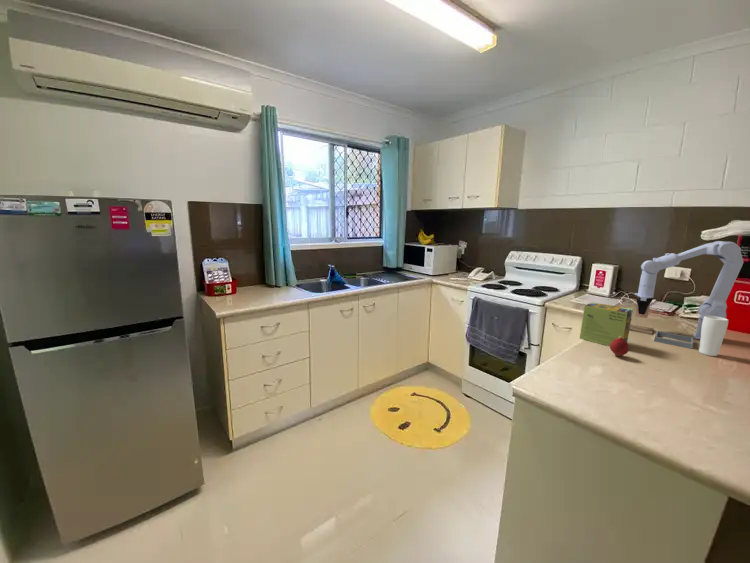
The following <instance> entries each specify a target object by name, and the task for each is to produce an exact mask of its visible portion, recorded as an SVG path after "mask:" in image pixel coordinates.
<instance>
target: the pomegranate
mask: <svg viewBox="0 0 750 563" xmlns="http://www.w3.org/2000/svg"><path fill="white" fill-rule="evenodd" d="M609 349H610V351H611V352H612V353H613V354H614V355H615V356H616V357H621V356H624V355H626V354H628V353H629V351H630V346H629V344H628V342H626V341H625V340H624V339H623V338H622V337H621V336H619V337H618V338H617V339H615V340H613V341H612V342H611V343H610V346H609Z"/></svg>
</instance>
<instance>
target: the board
mask: <svg viewBox="0 0 750 563" xmlns="http://www.w3.org/2000/svg"><path fill="white" fill-rule="evenodd" d="M654 330H655V328H654V327H647V326H641V325H638V324H631V323H630V329H629V332H636V333H641V334H647V335H651V336H652V335H653V333H654Z"/></svg>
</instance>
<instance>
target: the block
mask: <svg viewBox="0 0 750 563" xmlns="http://www.w3.org/2000/svg"><path fill="white" fill-rule="evenodd" d="M650 308H651V303H650V304H649V306H648V307H647V310H646V312H645V314H644V315H643V314H639V312H638V304H636V309H635V314H634V317H637V318H643V319H648V318H649V312H650Z"/></svg>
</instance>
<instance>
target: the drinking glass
mask: <svg viewBox="0 0 750 563" xmlns="http://www.w3.org/2000/svg"><path fill="white" fill-rule="evenodd" d="M728 325H729V319H727V317H726V318H722V317H717V316H704V318H703V322H702V327H701V338H700V339H699V348H698V352H699V353H700V354H702V355H705V356H710V357H718V356H719V353H720V349H721V346H722V343H723V341H724V338H725V336H726V333H727V329H728Z"/></svg>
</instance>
